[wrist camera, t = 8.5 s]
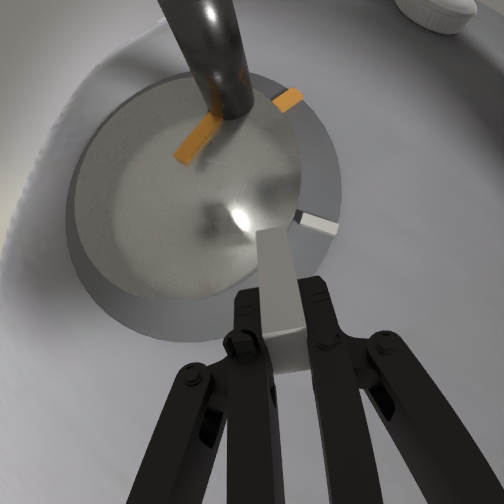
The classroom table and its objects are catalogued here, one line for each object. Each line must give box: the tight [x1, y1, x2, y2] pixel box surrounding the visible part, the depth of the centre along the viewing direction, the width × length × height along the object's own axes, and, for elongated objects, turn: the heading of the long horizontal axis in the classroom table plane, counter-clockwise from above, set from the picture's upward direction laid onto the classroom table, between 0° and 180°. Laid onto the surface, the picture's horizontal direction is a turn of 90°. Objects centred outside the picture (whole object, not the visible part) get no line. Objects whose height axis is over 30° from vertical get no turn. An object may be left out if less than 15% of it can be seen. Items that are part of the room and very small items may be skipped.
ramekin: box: [395, 0, 477, 34], centre depth 22 cm, size 11×11×5 cm
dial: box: [74, 0, 301, 301], centre depth 17 cm, size 18×18×13 cm
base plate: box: [66, 71, 341, 342], centre depth 24 cm, size 24×24×2 cm
